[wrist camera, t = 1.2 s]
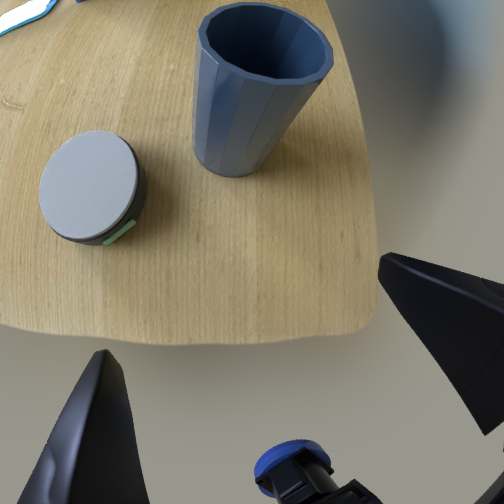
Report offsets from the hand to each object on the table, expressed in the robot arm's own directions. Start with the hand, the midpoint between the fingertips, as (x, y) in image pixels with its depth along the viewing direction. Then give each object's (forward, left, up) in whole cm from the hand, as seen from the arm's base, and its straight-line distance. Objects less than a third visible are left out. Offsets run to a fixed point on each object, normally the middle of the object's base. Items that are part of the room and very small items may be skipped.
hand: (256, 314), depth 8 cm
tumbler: (+9, -8, -14) cm, 19 cm away
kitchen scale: (+12, +4, -14) cm, 19 cm away
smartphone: (+54, +4, -15) cm, 56 cm away
